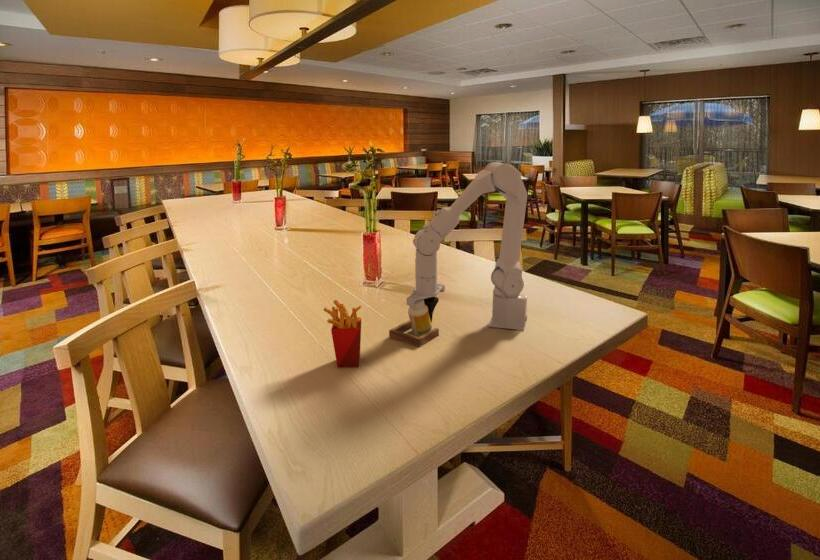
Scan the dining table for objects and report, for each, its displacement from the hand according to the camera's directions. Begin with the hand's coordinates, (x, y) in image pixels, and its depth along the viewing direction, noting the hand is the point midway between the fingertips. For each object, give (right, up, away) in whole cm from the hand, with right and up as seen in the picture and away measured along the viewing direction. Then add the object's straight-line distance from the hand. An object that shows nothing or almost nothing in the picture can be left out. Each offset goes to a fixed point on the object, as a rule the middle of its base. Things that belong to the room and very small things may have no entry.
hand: (426, 322), depth 131 cm
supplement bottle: (-1, -2, -1) cm, 3 cm away
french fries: (-20, -8, -19) cm, 29 cm away
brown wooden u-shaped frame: (-3, -3, -4) cm, 6 cm away
